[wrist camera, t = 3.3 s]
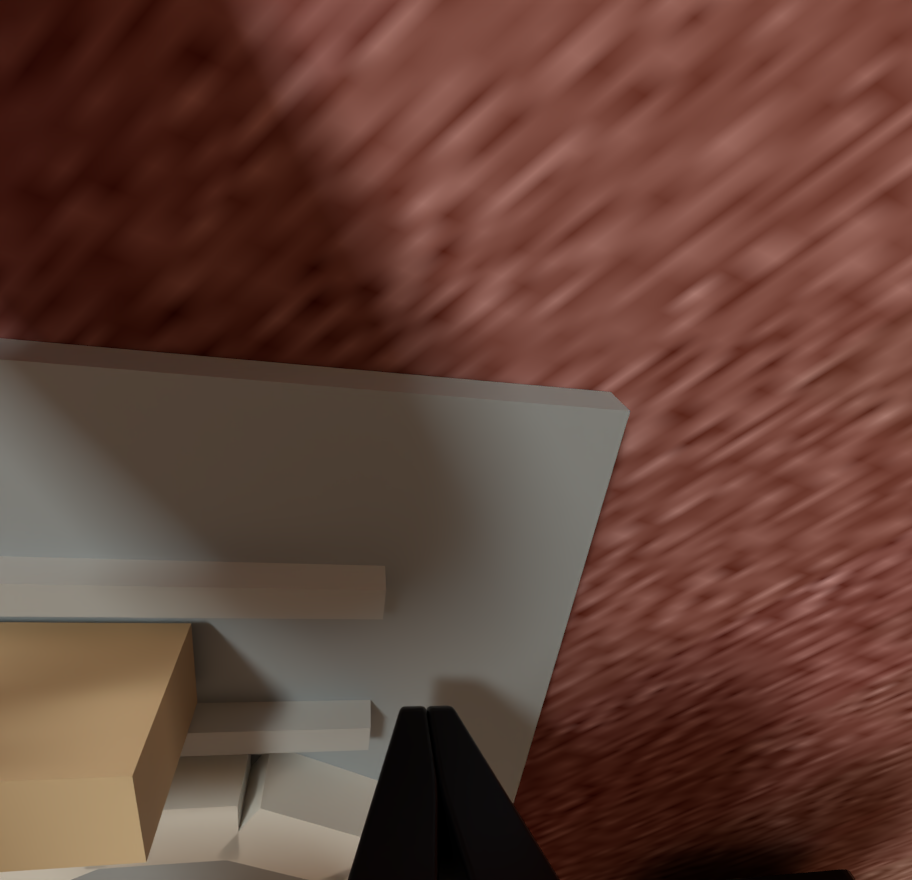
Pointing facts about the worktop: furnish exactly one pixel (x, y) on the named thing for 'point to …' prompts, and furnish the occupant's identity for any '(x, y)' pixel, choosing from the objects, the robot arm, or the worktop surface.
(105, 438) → the dock board
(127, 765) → the bar
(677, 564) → the worktop surface
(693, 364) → the worktop surface
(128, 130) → the worktop surface
